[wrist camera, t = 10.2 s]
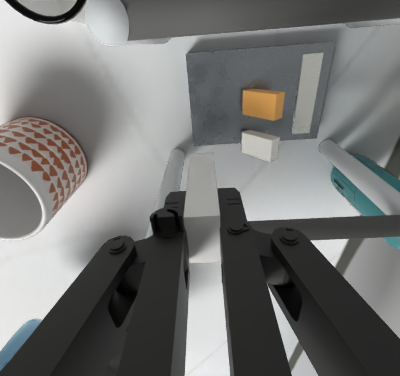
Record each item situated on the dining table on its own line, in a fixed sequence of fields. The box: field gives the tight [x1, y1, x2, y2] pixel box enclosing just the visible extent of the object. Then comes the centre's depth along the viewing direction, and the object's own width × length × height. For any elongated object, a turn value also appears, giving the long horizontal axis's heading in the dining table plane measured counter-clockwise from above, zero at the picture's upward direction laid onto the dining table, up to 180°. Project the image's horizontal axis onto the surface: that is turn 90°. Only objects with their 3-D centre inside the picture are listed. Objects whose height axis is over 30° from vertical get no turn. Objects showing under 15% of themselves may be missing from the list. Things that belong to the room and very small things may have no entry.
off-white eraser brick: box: [241, 130, 280, 162], centre depth 33 cm, size 2×3×6 cm
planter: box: [0, 117, 87, 240], centre depth 34 cm, size 14×14×13 cm
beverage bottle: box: [331, 155, 400, 249], centre depth 31 cm, size 6×7×20 cm
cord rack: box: [85, 0, 400, 240], centre depth 25 cm, size 26×19×20 cm
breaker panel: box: [186, 42, 335, 146], centre depth 33 cm, size 18×12×3 cm, turn 94°
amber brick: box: [242, 88, 285, 121], centre depth 30 cm, size 2×3×6 cm
